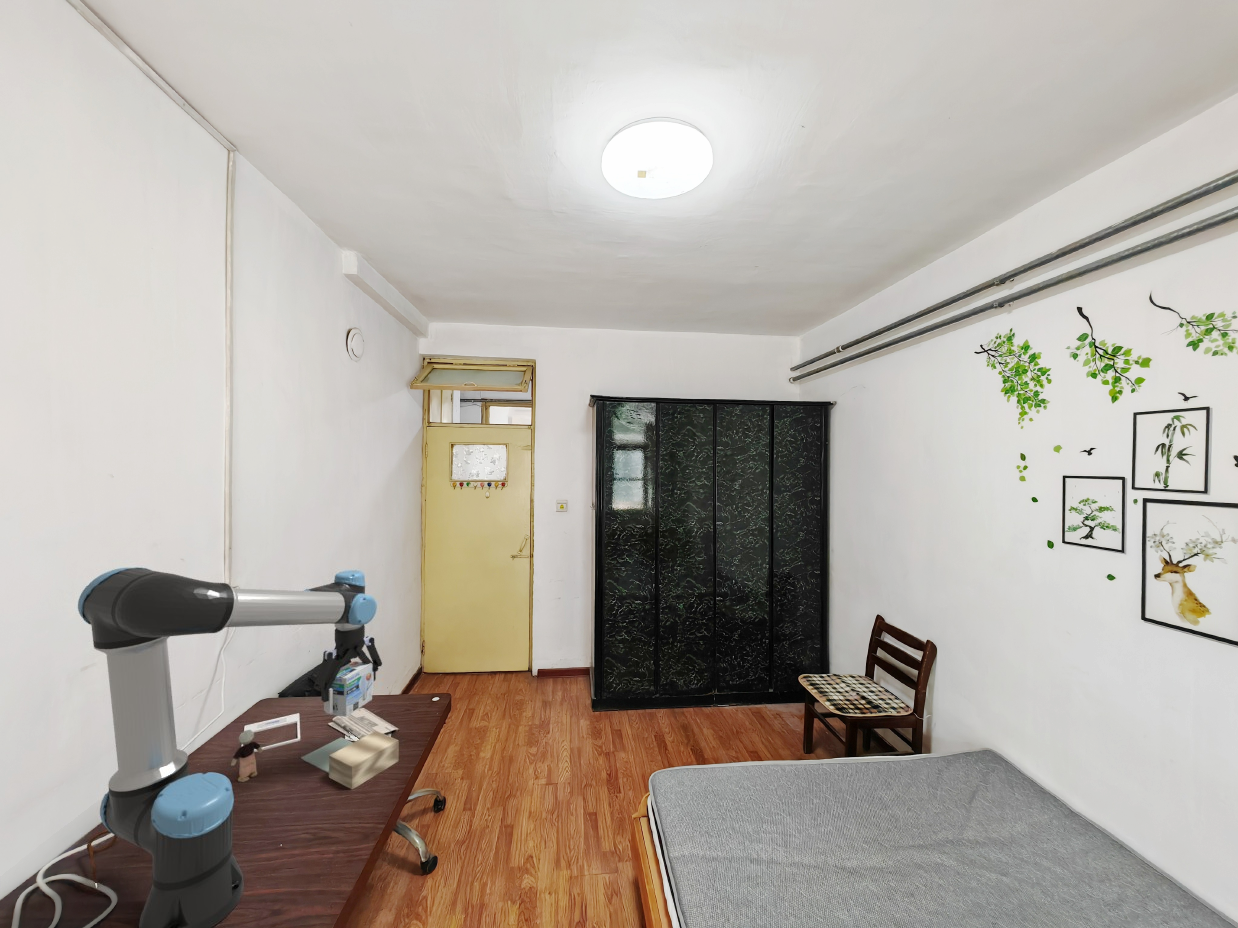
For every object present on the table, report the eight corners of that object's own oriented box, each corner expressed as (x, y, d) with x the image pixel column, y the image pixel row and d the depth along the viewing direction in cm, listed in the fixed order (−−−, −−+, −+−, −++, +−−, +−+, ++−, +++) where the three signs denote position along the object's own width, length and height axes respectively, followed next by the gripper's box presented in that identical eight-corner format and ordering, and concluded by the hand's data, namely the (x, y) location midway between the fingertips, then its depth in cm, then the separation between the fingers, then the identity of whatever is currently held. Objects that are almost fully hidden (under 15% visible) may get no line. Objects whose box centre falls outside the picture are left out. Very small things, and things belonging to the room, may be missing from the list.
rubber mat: (330, 773, 136) (330, 772, 136) (300, 758, 143) (300, 757, 143) (370, 751, 147) (370, 750, 147) (341, 738, 153) (341, 737, 153)
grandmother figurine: (253, 767, 138) (253, 722, 138) (264, 769, 138) (265, 724, 137) (226, 785, 131) (226, 737, 131) (238, 787, 130) (238, 739, 130)
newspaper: (326, 726, 161) (326, 718, 161) (363, 714, 171) (364, 706, 171) (361, 751, 148) (362, 742, 148) (400, 736, 158) (400, 728, 158)
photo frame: (299, 712, 167) (300, 737, 152) (299, 715, 167) (300, 741, 152) (244, 724, 159) (240, 753, 144) (244, 728, 159) (240, 757, 144)
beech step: (352, 789, 130) (352, 766, 130) (329, 777, 135) (329, 755, 135) (398, 760, 142) (398, 740, 142) (375, 750, 147) (375, 730, 147)
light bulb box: (346, 717, 136) (346, 678, 136) (325, 714, 137) (325, 675, 137) (373, 698, 146) (373, 662, 146) (353, 696, 148) (353, 660, 147)
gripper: (315, 642, 129) (315, 725, 129) (395, 616, 150) (395, 688, 150) (298, 636, 133) (298, 717, 133) (379, 612, 154) (378, 682, 154)
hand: (349, 702), depth 142 cm, fingers closed on light bulb box, 11 cm apart
